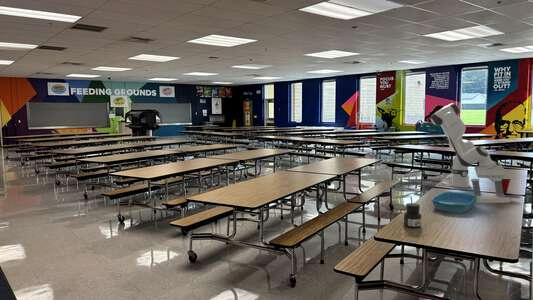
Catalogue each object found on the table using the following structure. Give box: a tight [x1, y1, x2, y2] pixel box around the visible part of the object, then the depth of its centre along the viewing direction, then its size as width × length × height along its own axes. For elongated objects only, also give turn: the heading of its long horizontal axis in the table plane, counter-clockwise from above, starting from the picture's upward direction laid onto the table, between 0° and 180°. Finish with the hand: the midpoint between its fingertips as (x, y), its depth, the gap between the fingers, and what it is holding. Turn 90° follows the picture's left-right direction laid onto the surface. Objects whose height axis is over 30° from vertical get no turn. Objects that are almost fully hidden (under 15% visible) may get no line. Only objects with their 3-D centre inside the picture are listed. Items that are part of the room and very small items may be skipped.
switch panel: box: [470, 193, 512, 204], centre depth 263 cm, size 14×22×3 cm, turn 92°
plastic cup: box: [501, 176, 512, 194], centre depth 286 cm, size 11×11×12 cm
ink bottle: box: [403, 202, 422, 229], centre depth 206 cm, size 10×9×12 cm
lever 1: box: [470, 178, 482, 196], centre depth 263 cm, size 2×4×12 cm, turn 92°
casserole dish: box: [431, 191, 478, 214], centre depth 244 cm, size 37×22×7 cm, turn 138°
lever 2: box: [493, 178, 505, 196], centre depth 264 cm, size 2×4×12 cm, turn 91°
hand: (495, 181), depth 268 cm, fingers closed
